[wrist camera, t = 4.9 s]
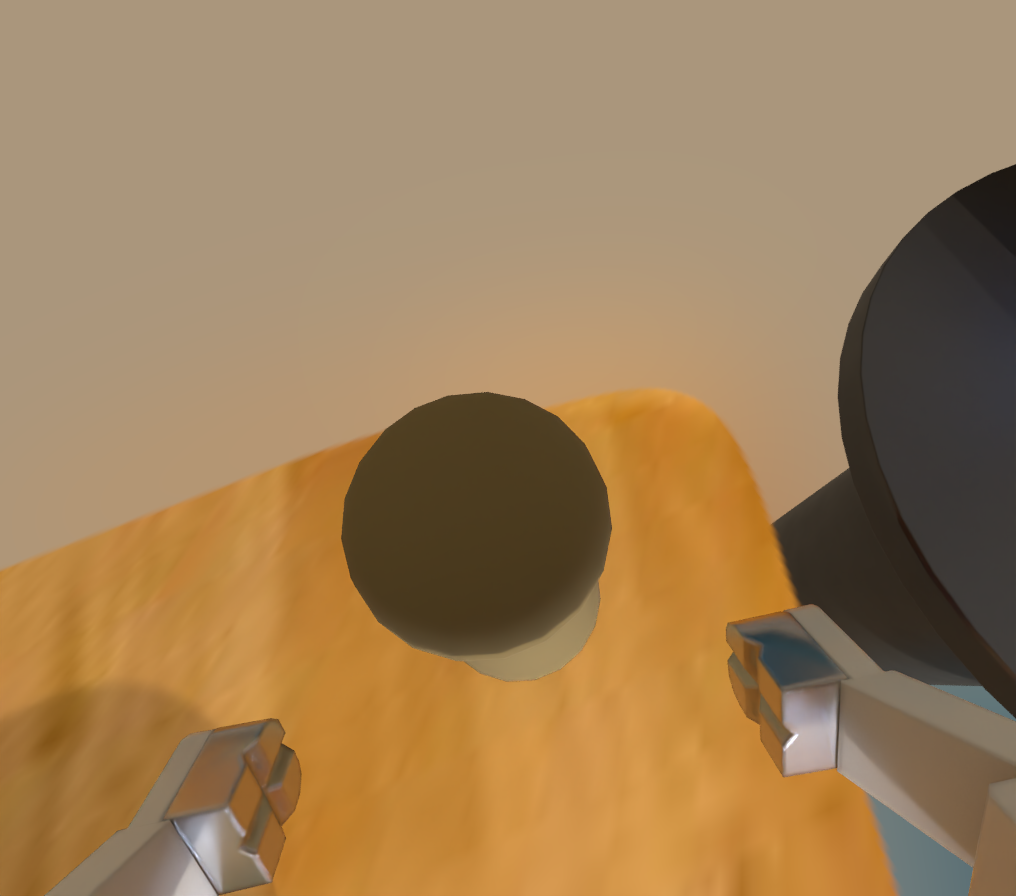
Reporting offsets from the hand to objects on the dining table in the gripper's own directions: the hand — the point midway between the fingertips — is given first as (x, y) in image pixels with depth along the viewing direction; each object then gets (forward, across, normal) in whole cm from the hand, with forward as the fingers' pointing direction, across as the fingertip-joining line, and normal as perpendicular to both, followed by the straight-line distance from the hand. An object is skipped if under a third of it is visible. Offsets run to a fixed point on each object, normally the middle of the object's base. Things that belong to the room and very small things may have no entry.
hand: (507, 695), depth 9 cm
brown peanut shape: (+9, 0, +4) cm, 10 cm away
